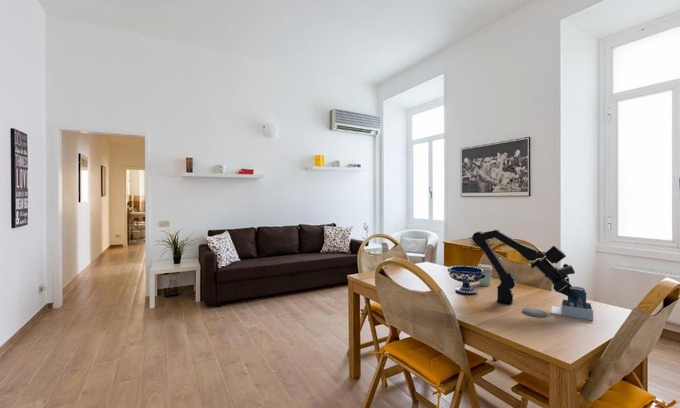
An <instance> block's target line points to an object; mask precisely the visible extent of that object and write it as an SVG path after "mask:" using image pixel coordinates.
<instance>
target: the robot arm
mask: <svg viewBox="0 0 680 408" xmlns="http://www.w3.org/2000/svg"><path fill="white" fill-rule="evenodd" d="M471 236H472V237H471V239H472V241H473V242H474V243H475V245H476V246H477V247H479V249H481V250H482V251H483V253H484V255H486V257H487V259H488V260H489V262H490V263H491V266H492V267H493V268H494V270H495V271H496V272H497V274H498V277H499V280H500V283H499V284H498V285H497V287H496V288H497V295H496V296H497V298H496V299H497V301H496V303H498V304H503V305H504V304H505V305H512V303H513V302H514V293H513V291H512V290H513V288H515V286H516V284H517V280H516V278H517V277H516V276H515V275H514V273H513V271H512V270H510V271H508V270H507V269H506V268H505V266H504V265H503V263H502V262H501V261H500V259H499V258H498V256H497V254H496V252H495V251H494V250H493V248H492V247H491V245H490V242H489V240H492V239H497V240H498V241H500V242H501V243H503V244H505V245H507V246H509V248H512V249H513V250H515V251H516V252H518V253H519V254H520V255H521V256H522V257H523V258H524V259H526V260H527V261H530V265H531V266H530V268H531V269H534V268H537V270H539V272H541V273H542V274H543V275H544V277H545V278H547V279H548V280H549V281H550V282H551V284H552V285H553V290H554V291H555V292H556V293H560V294H562V295H564V296H566V297H567V298H568V297H571V298H573V299H575V300H576V299H577V297H576V295H575V294H574V293H573V292H572V290H571V289H570V288H569V287H573V286H572V284H571V283H570V277H569V275H573V274H575V273H576V272H575V269H574V267H573V266H572V264H571V265H570V264H568V263H564V264H562V267H560V268H558V267H557V266H554V265H553V264H558V263H559V262H561V261H562V260H564V259H565V258H566V257H567V255H566V254H565V253H564V252H563V251H562V250H561V249H559V248H558V247H556V246H555V245H553V246H551V247H550V249H548V250H547V251H541V250H538V249H536V248H535V247H532V246H529V245H526V244H523V243H521V242H519V241H517V240H515V239H514V238H512V237H510V236H509V235H506V234H505V233H503V232H501V231H500V230H499V229H494V230H490V231H484V232H483V231H479V230H478V231H476V232H475V233H473V234H472V235H471Z"/></svg>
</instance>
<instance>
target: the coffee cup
mask: <svg viewBox="0 0 680 408" xmlns="http://www.w3.org/2000/svg"><path fill="white" fill-rule="evenodd" d="M478 267H479V268H481V269H483V271H484V272H485V277H484V278H483V279H482V280H480V281H479V280H478V282H479V286H482V285H483V287H490V286H491V281H492V279H491V278H492V272H493V271H492V270H493V265H492V264H485V263H484V264H483V263H481V264H480V263H479V264H478V265H477V268H478Z"/></svg>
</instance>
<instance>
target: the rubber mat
mask: <svg viewBox="0 0 680 408" xmlns="http://www.w3.org/2000/svg"><path fill="white" fill-rule="evenodd" d="M522 313H523V314H524V315H527V316H531V317H534V318H547V317H548V313H547V311H544V310H541V309H537V308H528V307H527V308H523V309H522Z"/></svg>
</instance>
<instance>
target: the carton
mask: <svg viewBox="0 0 680 408" xmlns="http://www.w3.org/2000/svg"><path fill="white" fill-rule="evenodd" d="M551 314H552V315H558V316H565V317H571V318H575V319H582V320H587V321H588V320H589V321H594V308H593V305H592V303H591V302H586V309H583V308H577V307H570V306H568V299H566V298H565V299H564V298H563V299H562V298H561V307H559V306H555V305H552V306H551Z"/></svg>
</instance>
